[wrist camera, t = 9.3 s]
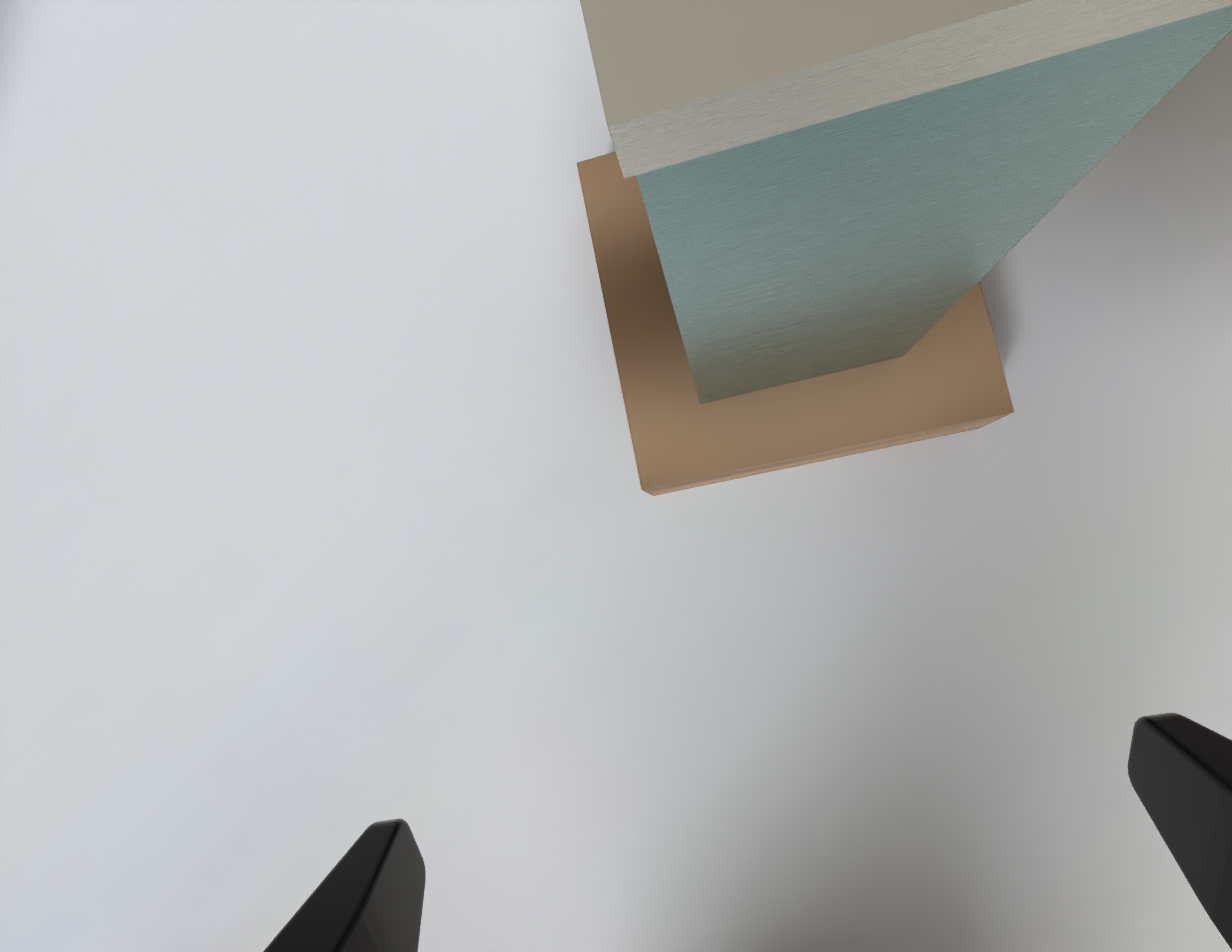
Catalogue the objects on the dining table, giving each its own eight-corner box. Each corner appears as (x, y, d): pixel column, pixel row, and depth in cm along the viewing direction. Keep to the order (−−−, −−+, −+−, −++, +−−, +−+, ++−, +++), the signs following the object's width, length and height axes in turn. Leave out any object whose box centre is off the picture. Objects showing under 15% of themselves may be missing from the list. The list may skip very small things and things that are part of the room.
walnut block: (972, 430, 20) (1013, 411, 17) (655, 496, 21) (641, 489, 18) (896, 131, 21) (921, 64, 18) (598, 212, 22) (576, 163, 19)
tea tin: (908, 359, 17) (1403, -109, 4) (697, 408, 18) (607, 127, 5) (857, 159, 18) (1171, -770, 5) (654, 215, 19) (477, -468, 6)
